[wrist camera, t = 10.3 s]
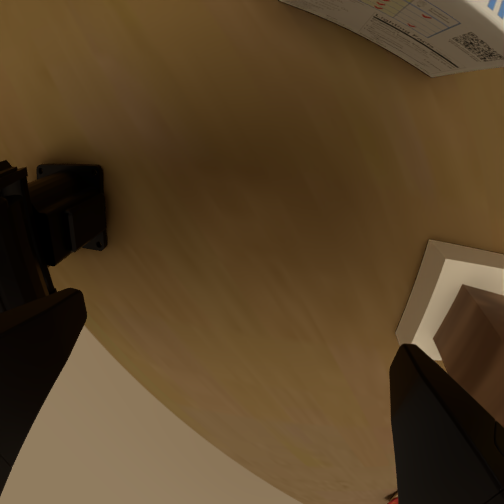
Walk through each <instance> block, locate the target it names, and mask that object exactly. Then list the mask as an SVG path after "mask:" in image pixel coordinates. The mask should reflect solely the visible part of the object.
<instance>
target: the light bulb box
mask: <svg viewBox="0 0 504 504" xmlns="http://www.w3.org/2000/svg"><path fill="white" fill-rule="evenodd" d="M278 1H281V2H284V3H286V4H289V5H292V6H294V7H297V8H300V9H302V10H305V11H308V12H310V13H312V14H315V15H317V16H320V17H322V18H325V19H327V20H329V21H331V22H334V23H336V24H338V25H340V26H343V27H345V28H347V29H349V30H351V31H353V32H355V33H357V34H359V35H361V36H363V37H365V38H367V39H368V40H370V41H372V42H374V43H376V44H378V45H380V46H381V47H383V48H385V49H387V50H388V51H390V52H392V53H394V54H395V55H397V56H399V57H400V58H402V59H404V60H405V61H407V62H409V63H410V64H412V65H413V66H415V67H416V68H418V69H420V70H421V71H423V72H424V73H426V74H427V75H429V76H430V77H432V78H433V77H438V76H444V75H449V74H455V73H462V72H468V71H475V70H483V69H491V68H499V67H504V0H278Z"/></svg>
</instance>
